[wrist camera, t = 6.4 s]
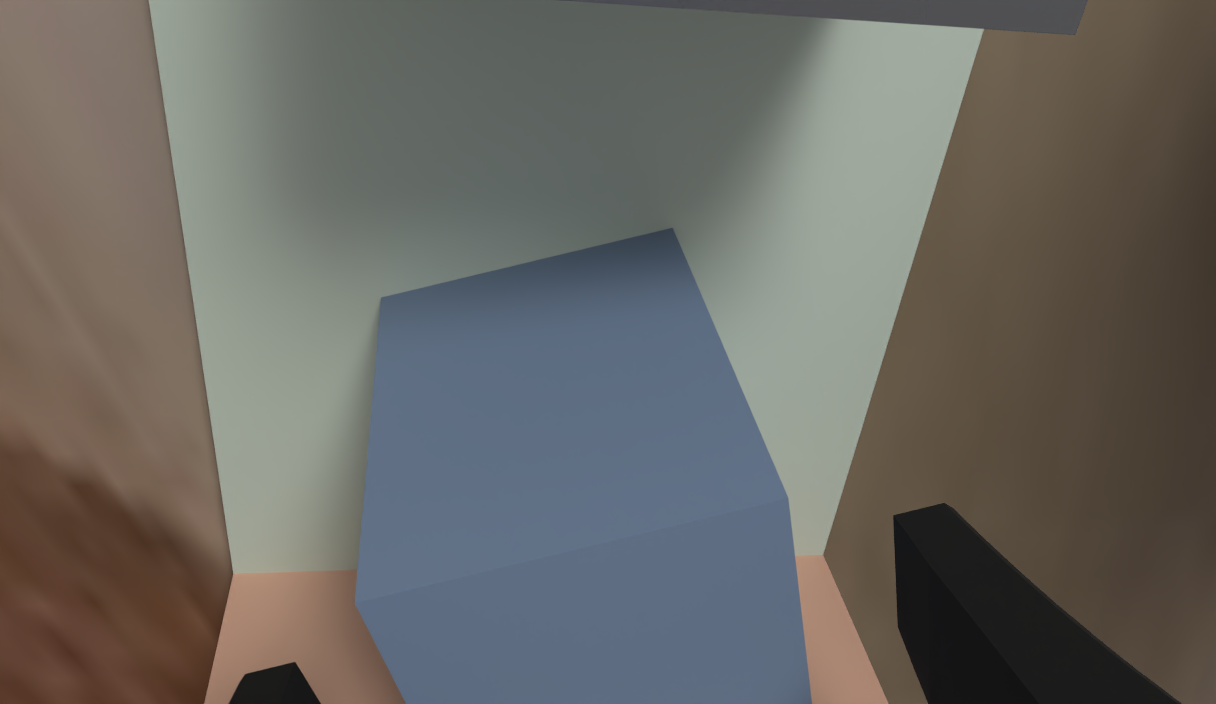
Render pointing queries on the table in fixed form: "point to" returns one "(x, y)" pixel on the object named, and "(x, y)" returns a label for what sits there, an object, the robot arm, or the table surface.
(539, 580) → the slate blue carton
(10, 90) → the table surface
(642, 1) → the grey toy block
